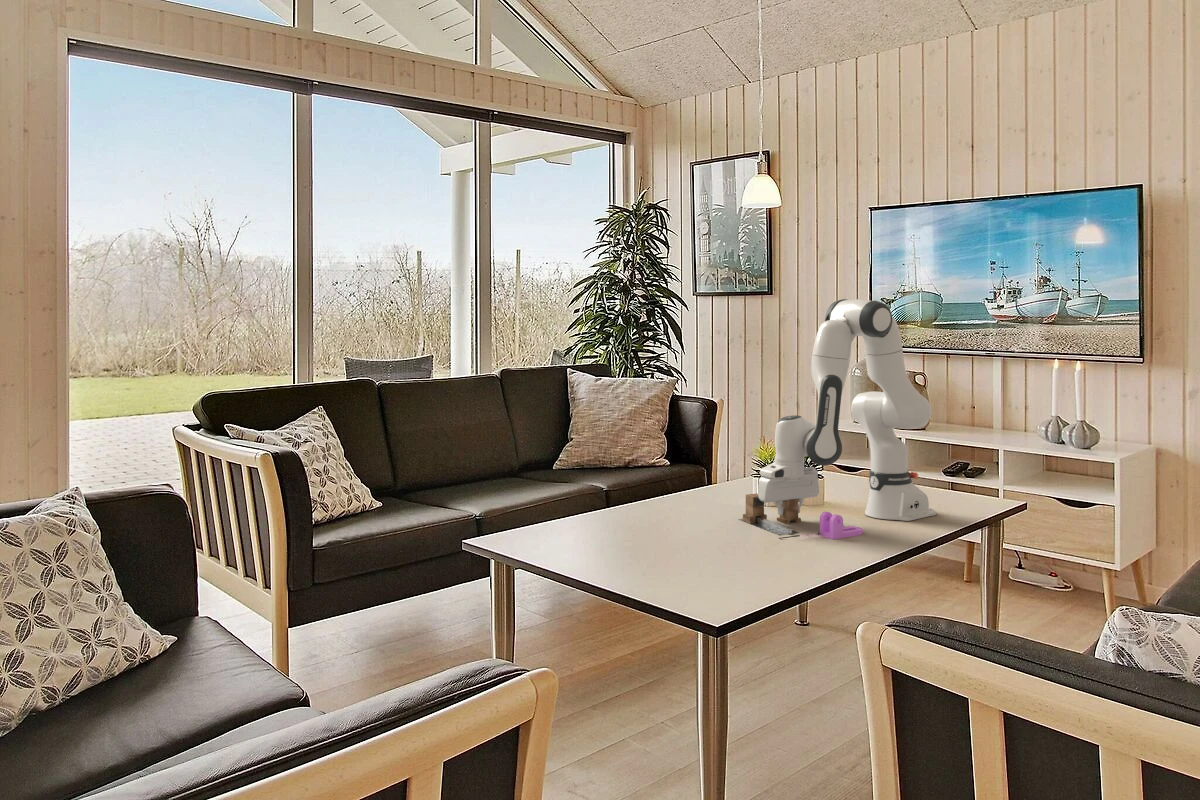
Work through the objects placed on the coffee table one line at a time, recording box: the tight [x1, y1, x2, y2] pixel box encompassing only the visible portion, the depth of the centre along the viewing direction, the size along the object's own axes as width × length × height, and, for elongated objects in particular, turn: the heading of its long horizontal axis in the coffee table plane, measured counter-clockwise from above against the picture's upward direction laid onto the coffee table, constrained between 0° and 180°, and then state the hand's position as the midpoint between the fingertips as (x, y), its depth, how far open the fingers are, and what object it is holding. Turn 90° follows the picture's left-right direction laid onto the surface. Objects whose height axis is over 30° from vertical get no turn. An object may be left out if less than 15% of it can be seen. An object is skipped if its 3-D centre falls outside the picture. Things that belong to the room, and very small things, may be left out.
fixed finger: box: [742, 492, 768, 524], centre depth 272 cm, size 6×5×8 cm
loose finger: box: [776, 499, 802, 525], centre depth 271 cm, size 6×5×8 cm
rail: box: [738, 516, 801, 540], centre depth 266 cm, size 7×22×2 cm, turn 23°
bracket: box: [819, 510, 864, 540], centre depth 258 cm, size 13×6×7 cm, turn 118°
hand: (788, 513), depth 271 cm, fingers closed on loose finger, 4 cm apart
